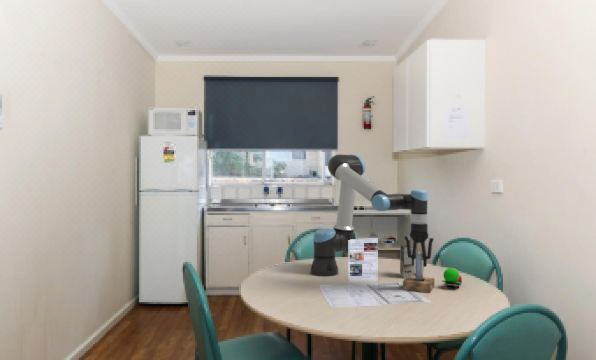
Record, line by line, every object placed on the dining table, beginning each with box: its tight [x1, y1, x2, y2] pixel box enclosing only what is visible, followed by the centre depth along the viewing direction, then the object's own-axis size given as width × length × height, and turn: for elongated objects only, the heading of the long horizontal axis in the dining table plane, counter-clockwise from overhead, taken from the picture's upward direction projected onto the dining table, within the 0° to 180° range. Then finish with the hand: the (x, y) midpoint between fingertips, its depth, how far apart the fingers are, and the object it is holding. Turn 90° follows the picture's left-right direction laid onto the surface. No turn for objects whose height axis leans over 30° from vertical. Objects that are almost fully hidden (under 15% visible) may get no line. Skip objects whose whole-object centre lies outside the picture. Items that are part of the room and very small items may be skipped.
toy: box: [441, 267, 463, 289], centre depth 201 cm, size 8×8×15 cm
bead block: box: [402, 276, 435, 294], centre depth 198 cm, size 12×12×4 cm
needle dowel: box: [416, 250, 424, 281], centre depth 198 cm, size 3×3×15 cm
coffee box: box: [399, 244, 416, 279], centre depth 221 cm, size 9×6×16 cm
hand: (419, 273), depth 198 cm, fingers closed on needle dowel, 3 cm apart
